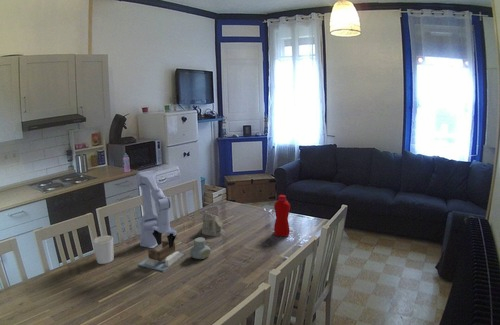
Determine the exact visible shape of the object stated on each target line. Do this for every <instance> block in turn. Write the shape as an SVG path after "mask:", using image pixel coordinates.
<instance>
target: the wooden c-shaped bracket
mask: <svg viewBox="0 0 500 325" xmlns="http://www.w3.org/2000/svg"><path fill="white" fill-rule="evenodd" d="M161 247H162V248H159V249H160V250H159V249H155V248H147V254H148V256H147V257H149V258H150V259H154V260H158V261H162V260H163V259H165V258H166V257H168V256H169V255H171V254H172V253H173V252H176V243H175V242H174V244H173V247H171V248H170V247H169V241H168V240H165V239H162V243H161ZM158 250H159V251H158Z"/></svg>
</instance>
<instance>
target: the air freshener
mask: <svg viewBox="0 0 500 325" xmlns="http://www.w3.org/2000/svg"><path fill="white" fill-rule="evenodd" d="M193 244H194V245H193V246H192V247H191V248H190V250H189V254H190V256H191V257H192V258H193V259H194V260H195V259H196V260H204V259H206V258H207V257H209V256H210V254H211V248H210V247H209V246H208V245H206V239H205V237H200V236H199V237H197V238H195V239H194V240H193Z"/></svg>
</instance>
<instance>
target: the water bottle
mask: <svg viewBox="0 0 500 325" xmlns="http://www.w3.org/2000/svg"><path fill="white" fill-rule="evenodd" d="M277 198H278V200H276V201H275V203H274V212H275V214H274V215H275V222H274V225H273V226H274V227H273V232H274V235H275V237H288V236H289V235H290V225H289V216H290V217H291V216H293V214H291V215H290V210H291V204H290V202H289V201H288V199H287V198H286V195H285V194H280V195H278V196H277Z"/></svg>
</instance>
